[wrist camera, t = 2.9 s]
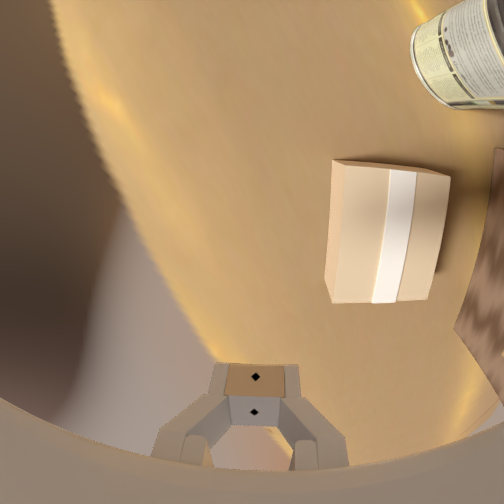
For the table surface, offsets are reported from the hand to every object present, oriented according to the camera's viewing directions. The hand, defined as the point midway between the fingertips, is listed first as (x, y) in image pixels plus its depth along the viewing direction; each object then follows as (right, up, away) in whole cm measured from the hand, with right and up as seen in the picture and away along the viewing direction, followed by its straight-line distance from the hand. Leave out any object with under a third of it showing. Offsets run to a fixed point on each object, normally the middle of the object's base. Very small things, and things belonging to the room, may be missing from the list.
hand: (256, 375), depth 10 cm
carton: (+12, +7, +17) cm, 22 cm away
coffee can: (+20, +24, +9) cm, 32 cm away
